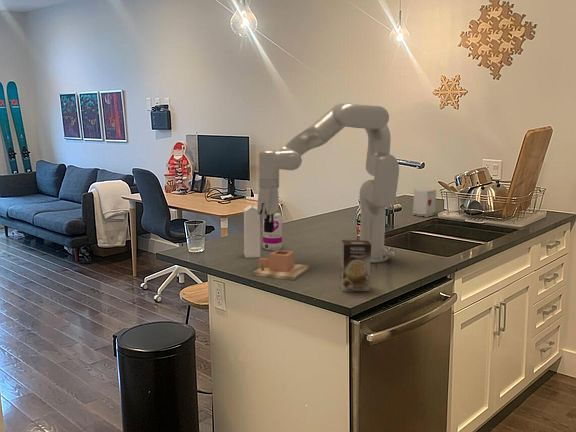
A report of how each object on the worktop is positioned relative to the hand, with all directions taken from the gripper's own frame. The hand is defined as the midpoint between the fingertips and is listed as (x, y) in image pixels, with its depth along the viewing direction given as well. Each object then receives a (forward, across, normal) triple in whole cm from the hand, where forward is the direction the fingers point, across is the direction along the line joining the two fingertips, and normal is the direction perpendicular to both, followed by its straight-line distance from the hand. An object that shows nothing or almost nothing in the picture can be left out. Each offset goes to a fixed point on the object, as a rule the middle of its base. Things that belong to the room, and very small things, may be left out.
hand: (268, 231), depth 217 cm
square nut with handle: (+12, +6, +5) cm, 14 cm away
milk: (+13, -11, -12) cm, 21 cm away
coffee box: (+13, +15, +38) cm, 43 cm away
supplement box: (+13, -127, +40) cm, 134 cm away
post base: (+13, +6, +8) cm, 16 cm away
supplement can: (+13, -25, -9) cm, 30 cm away
